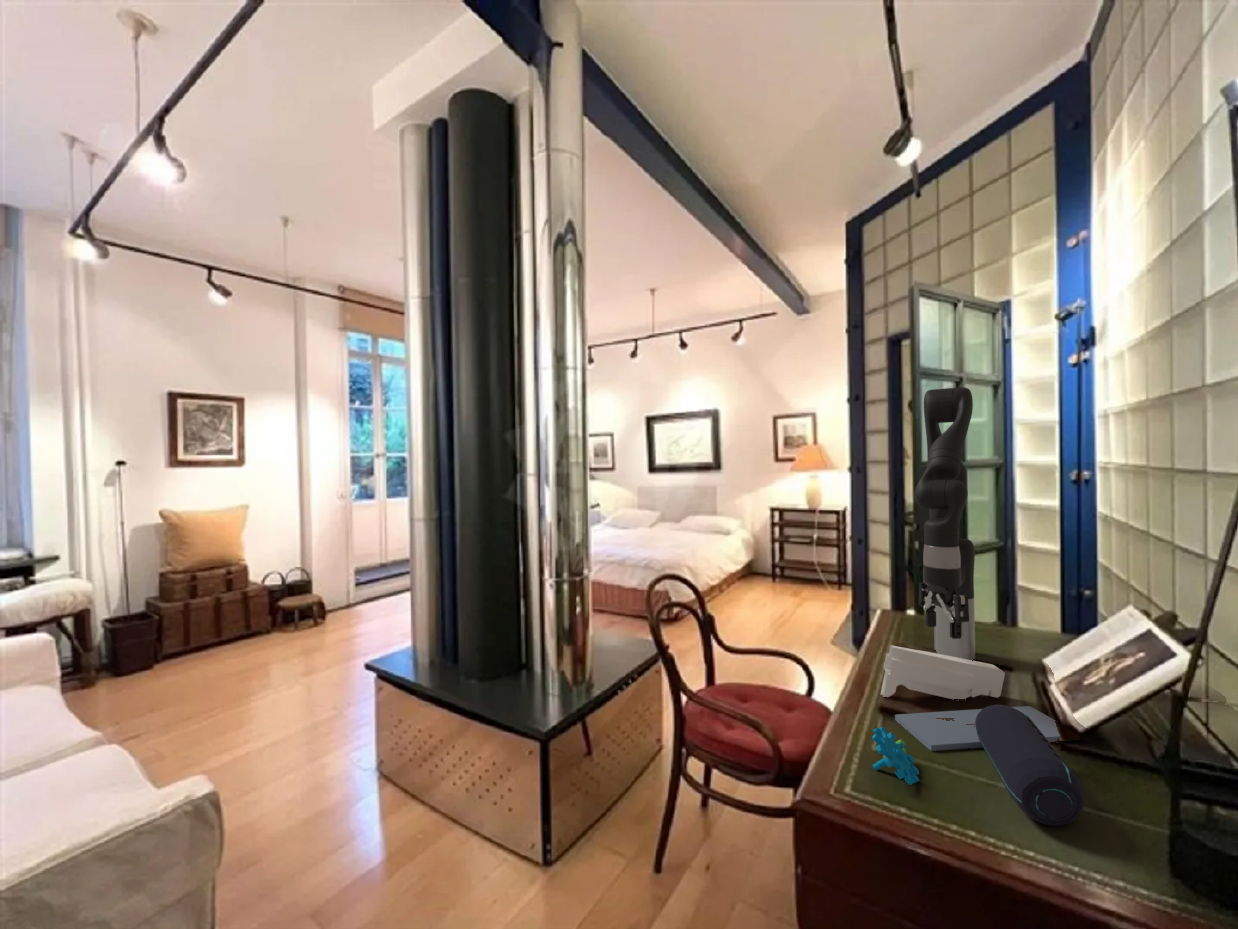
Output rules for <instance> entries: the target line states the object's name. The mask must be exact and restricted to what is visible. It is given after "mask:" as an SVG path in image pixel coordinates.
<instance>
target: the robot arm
mask: <svg viewBox="0 0 1238 929" xmlns="http://www.w3.org/2000/svg"><path fill="white" fill-rule="evenodd" d="M923 397H924V398H923V414H924V427H925V434H926V447H927V450H926V451H927V457H926V458H927V459H926V460H927V464H926V468H925V471H924V472H923V474H922V475H921V478H920V479H919V481H918V482H917V485H916V486H915V489H914V495H913V497H914V501H915V503H916V504H917V505H918V507H920V508H921V509H924V510H929V514H928V515H929V520H926V521H925V522H924V526H923V540H924V541H923V542H924V544H923V552H922V553H923V554H922V555H923V556H922V558H923V559H922V560H923V561H922V562H923V581H922V582H919V583H918V605H919V607H922V608H923V610H924V613H925V614H924V615H925V626H926V627H928V628H933V634H934V635H933V636H934V637H933V638H934V651H935V650H936V651H935V653H936V652H937V653H936V654H942V655H947V656H952V657H957V658H962V659H967V660H973V659H975V660H976V632H975V631H976V630H975V628H976V626H975V625H976V623H975V621H976V620H975V616H976V615H975V586H974V584H975V583H974V582H975V580H974V578H975V575H974V574H975V560H976V559H975V556H976V554H975V545H974V543H973V541H972V540H970V539H967V538H960V524H961V522H960V521H961V518H962V515H963V510H964V508H965V506H966V502H967V499H968V480H967V477H968V475H967V474H968V471H967V469H966V467H965V464H964V463H963V461H962V456H963V455H962V454H963V449H964V447H963V446H964V443H965V441H966V438H967V434H968V431H969V427H970V424H971V419H972V415H973V409H974V403H973V402H974V400H973V395H972V391H971V390H970V388H968V387H948V388H936V389H935V388H934V389H929V390H927V391H926V392H925V393H924V396H923ZM944 423H948V424H949V423H952V424H951V425H950V426H949V427H948V428H947V429H946V430H945V431H944V432H942V431H941V428H940V424H944ZM925 597H926V598H925ZM924 598H925V600H924ZM973 661H974V660H973Z"/></svg>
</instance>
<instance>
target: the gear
mask: <svg viewBox="0 0 1238 929" xmlns="http://www.w3.org/2000/svg"><path fill="white" fill-rule="evenodd" d="M872 732H873V733H874V734H873V735H872V737H871V738H872V740H873V741H874V743H876V744H877V745H876V747H875V748H876V750H877V753H878V754H879V755H883V756H882V758H881V759H880V760H878V761H876V762H875V763H873V764H872V767H873V769H874V770H875V771H878V770H880V769H881V768H883V767H884V766H887V768H889V769H890V768H891V767H895V768H896V770H895V771H894V773H895V774H894V775H896V776H897V778H898V779H899V780H902V779H904V781H905V783H907V784H908V785H910V786H911V785H913V784H916V783H918V782H919V781H920V778H919V777H918V775H919V774H920V770H919V769H918V768H917V767H916V766H915V765H914V763H915V760H914V757H913V756H912V755H910V754H907V747H906V746H905V745H906V744H905V743H906V742H905V741H904V740H903V739H902V738H900V739H899V740H897V741H895V740H896V739H897V736H895V734H894V733H893V732H889V733H888V730H887V729H886V728H885V727H883V726H881V727H876V728H874V729H872Z"/></svg>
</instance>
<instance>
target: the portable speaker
mask: <svg viewBox="0 0 1238 929" xmlns="http://www.w3.org/2000/svg"><path fill="white" fill-rule="evenodd" d="M1012 707H1013V706H1008V705H1006V704H1005V705H1004V704H992V705H988V706H985V707H983V708H981V709H982V710H981V711H980V712H979V713H978V715H977V717H976V721H975V726H976V731H977V735H978V738H979V741H980V743H981V744H982V746H983V750H984V751H985V753H986V755H987V757H988V759H989V760H990V762H991V764H992V765H993V768H994V769H995V771H996V772H997V774H998V776H999V778H1000V780H1001V781H1002V782H1001V783H1003V785H1004V787H1005V789H1006V791H1007V792H1008V794H1009V796H1010V798H1011V799H1012V800H1013V801H1014V802H1015V804H1016V805H1017V806H1018V808H1020V809H1021V811H1022V812H1023V813H1024V814H1025V815H1027V816H1028V817H1029V818H1031V819H1032V820H1034V822H1035V821H1036V822H1037V823H1040V824H1043V825H1046V826H1054V827H1055V826H1057V827H1058V826H1062V825H1066V824H1070V823H1071V822H1073V821H1074V820H1075V819H1077V818H1078V817H1079V816H1080V814H1081V813H1082V811H1083V809H1084V806H1085V803H1086V798H1085V797H1086V796H1085V791H1084V788H1083V786H1082V784H1081V780H1080V779H1079V778H1078V777H1077V775H1076V774H1075V773H1074V771H1073V770H1072V769H1071V768H1070V766H1069V765H1068V763H1067V762H1066V761H1065V760H1064V759H1063V758H1062V756H1061V755H1060V754H1059V753H1058V751H1057V750H1056V749H1055V747H1054V746H1053V745H1052V743H1049V741H1048V740H1047V739H1046V738H1045V736H1044V735H1043V734H1042V733H1041V731H1040V730H1039V729H1038V728H1037V726H1036V725H1035V724H1034V723H1033V721H1032V720H1031V719H1030V718H1029V717H1028V716H1027V715H1025V714H1024V713H1022V712H1020V711H1019V710H1017V709H1014V708H1012Z"/></svg>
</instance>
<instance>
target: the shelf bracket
mask: <svg viewBox="0 0 1238 929" xmlns="http://www.w3.org/2000/svg"><path fill="white" fill-rule="evenodd" d="M883 670H884V676H883V681H882V684H881V685H882V686H881V691H880V694H879V695H880V696H882V698H883V697H887V698H890V697H892V696H893V695H894V694H895V693H896V691H897V687H898V686H904V687H905V688H906V689H907V690H912V691H914V692H915V691H916V692H920V693H923V694H928V695H933V696H937V697H942V698H946V699H949V700H950V699H951V700H954V699H965V700H966V699H967V698H970V697H972V698H975V697H977V696H980V695H982V696H990V697H994V698H999V697H1001V695H1002V690H1003V684H1004V680H1005V674H1006V673H1005V672H1004V671H1003V670H1002V669H1000V668H999V667H997V666H996V665H994V664H991V663H987V662H983V661H982V662H981V661H978V660H977V661H976V660H973V661H972V660H967V659H962V658H957V657H952V656H947V655H942V654H937V653H936V652H931V651H925V650H919V649H912V648H908V647H903V646H902V647H901V646H897V645H891V644H890V645H889V652H887V653H885V658H884V663H883Z"/></svg>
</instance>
